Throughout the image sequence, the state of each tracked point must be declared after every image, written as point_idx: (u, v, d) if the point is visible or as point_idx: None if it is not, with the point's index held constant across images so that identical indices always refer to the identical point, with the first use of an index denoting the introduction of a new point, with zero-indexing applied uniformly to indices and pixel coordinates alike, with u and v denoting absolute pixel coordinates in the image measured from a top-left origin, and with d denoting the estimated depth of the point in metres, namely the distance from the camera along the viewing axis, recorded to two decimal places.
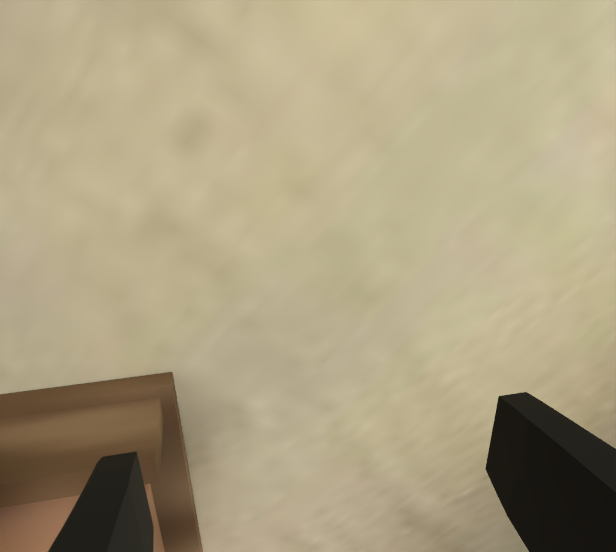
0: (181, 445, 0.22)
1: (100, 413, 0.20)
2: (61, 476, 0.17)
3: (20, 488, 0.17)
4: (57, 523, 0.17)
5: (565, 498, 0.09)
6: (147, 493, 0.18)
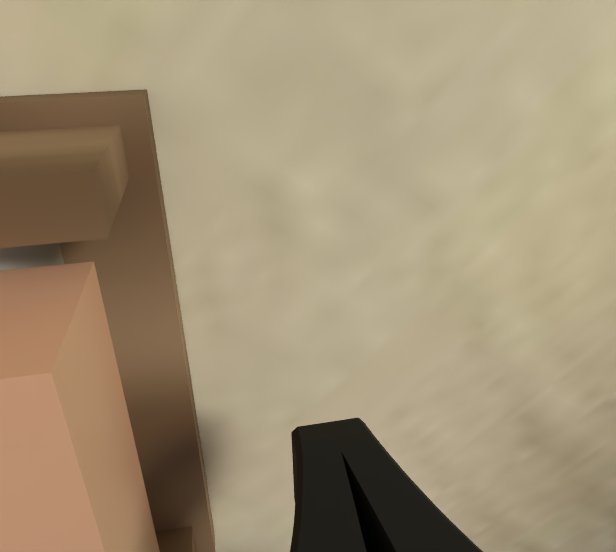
0: (166, 247, 0.11)
1: None
2: None
3: None
4: None
5: (364, 536, 0.08)
6: (87, 279, 0.08)
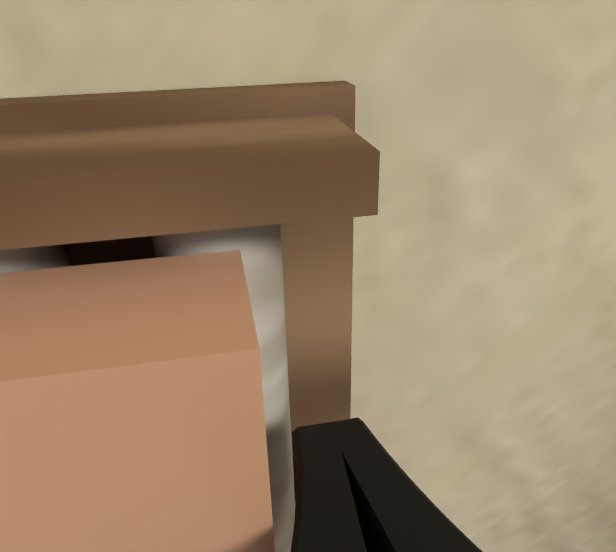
0: (351, 230, 0.12)
1: (226, 124, 0.10)
2: (180, 172, 0.08)
3: (89, 193, 0.07)
4: (49, 303, 0.08)
5: (364, 536, 0.08)
6: (241, 266, 0.09)
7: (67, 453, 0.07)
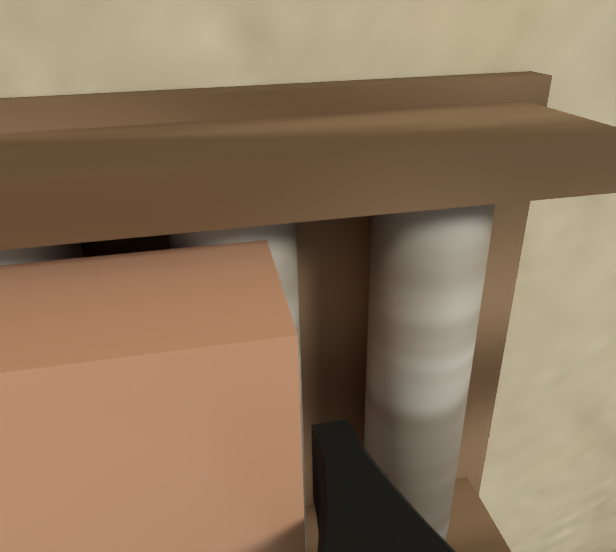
0: (525, 213, 0.13)
1: (442, 110, 0.11)
2: (464, 151, 0.08)
3: (386, 169, 0.08)
4: (81, 292, 0.08)
5: None
6: (270, 256, 0.09)
7: (105, 440, 0.07)
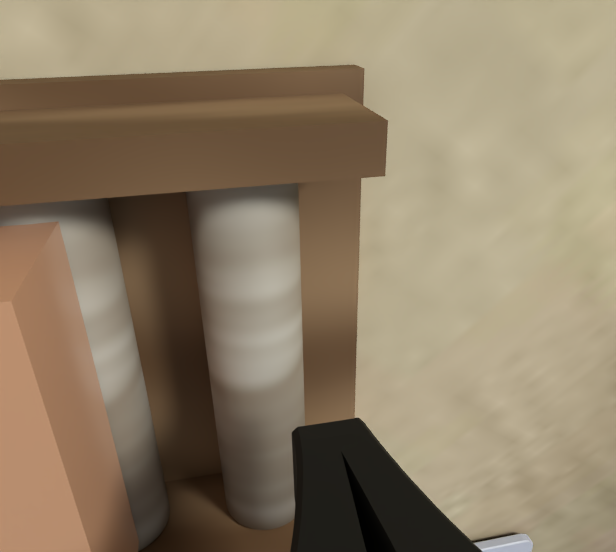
0: (358, 199, 0.13)
1: (252, 101, 0.11)
2: (220, 136, 0.09)
3: (144, 152, 0.09)
4: None
5: (364, 536, 0.08)
6: (51, 235, 0.09)
7: None
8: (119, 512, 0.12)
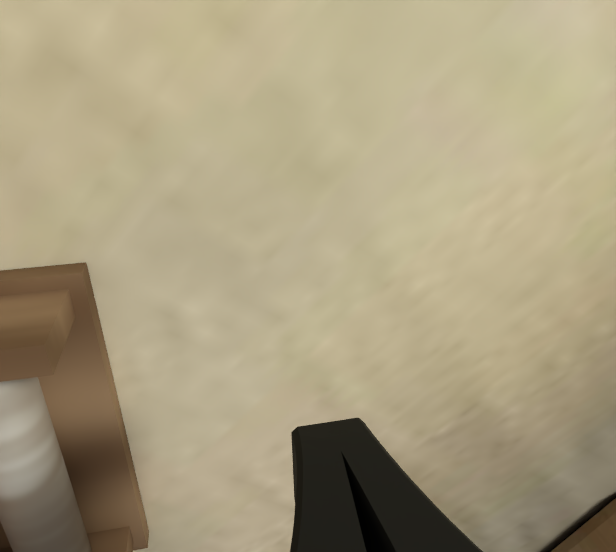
0: (100, 353, 0.18)
1: None
2: None
3: None
4: None
5: (364, 536, 0.08)
6: None
7: None
8: None
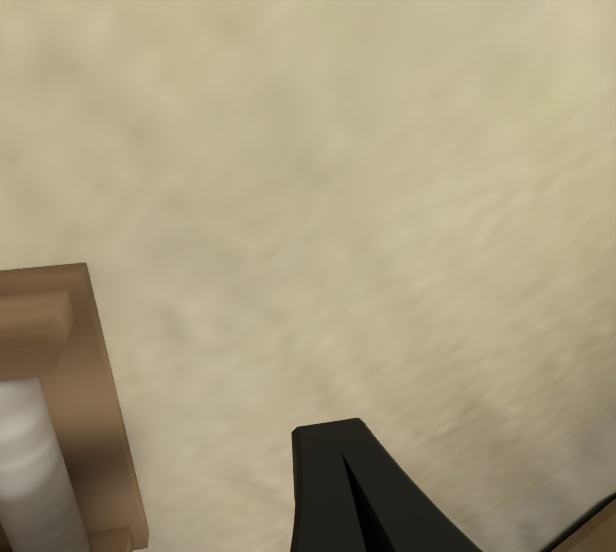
0: (100, 353, 0.18)
1: None
2: None
3: None
4: None
5: (364, 536, 0.08)
6: None
7: None
8: None
